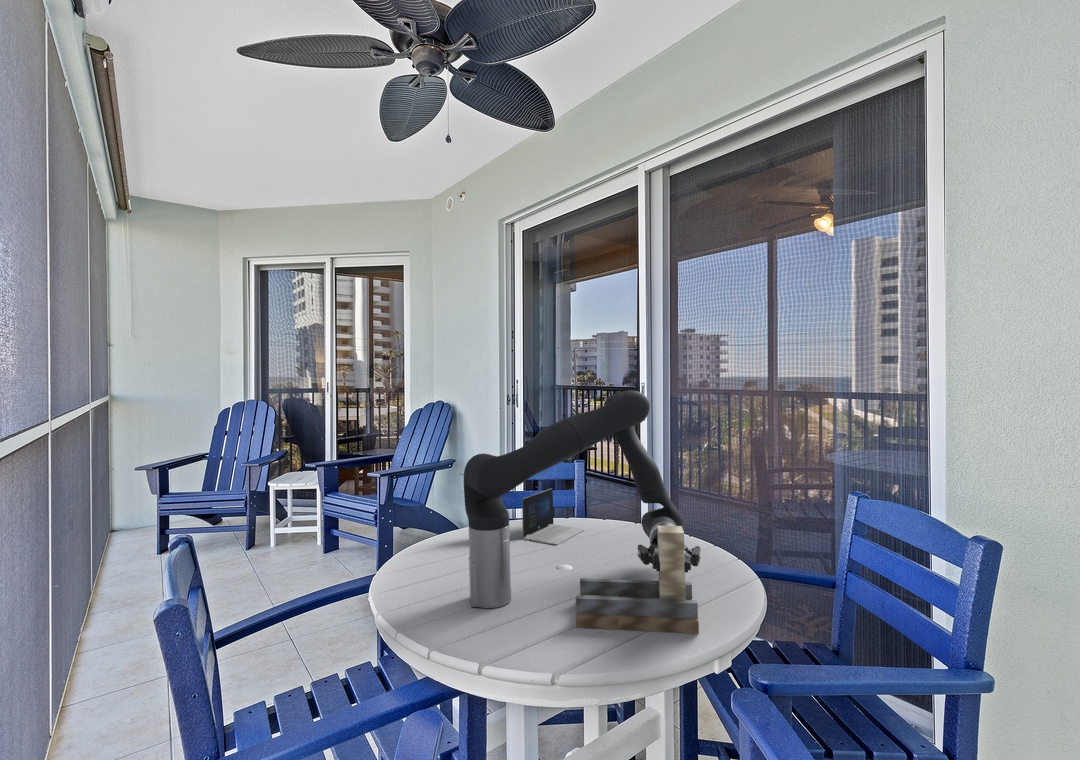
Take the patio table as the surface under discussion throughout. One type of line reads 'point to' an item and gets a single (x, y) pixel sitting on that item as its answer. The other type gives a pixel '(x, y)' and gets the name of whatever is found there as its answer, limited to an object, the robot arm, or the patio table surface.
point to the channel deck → (634, 607)
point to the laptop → (543, 520)
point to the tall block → (671, 562)
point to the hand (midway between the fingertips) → (672, 567)
